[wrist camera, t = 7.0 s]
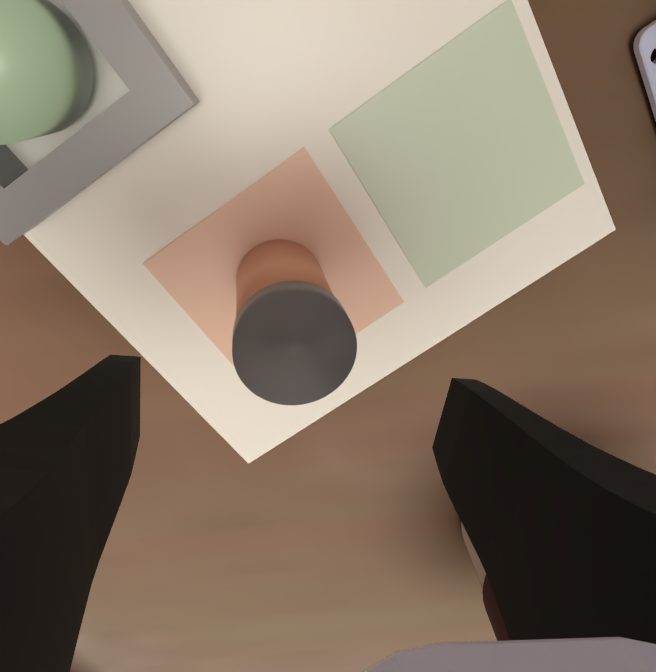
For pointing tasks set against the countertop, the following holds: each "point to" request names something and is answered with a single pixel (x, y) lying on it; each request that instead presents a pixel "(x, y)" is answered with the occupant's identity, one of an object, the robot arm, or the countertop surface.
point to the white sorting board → (304, 177)
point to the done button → (40, 70)
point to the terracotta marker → (289, 326)
